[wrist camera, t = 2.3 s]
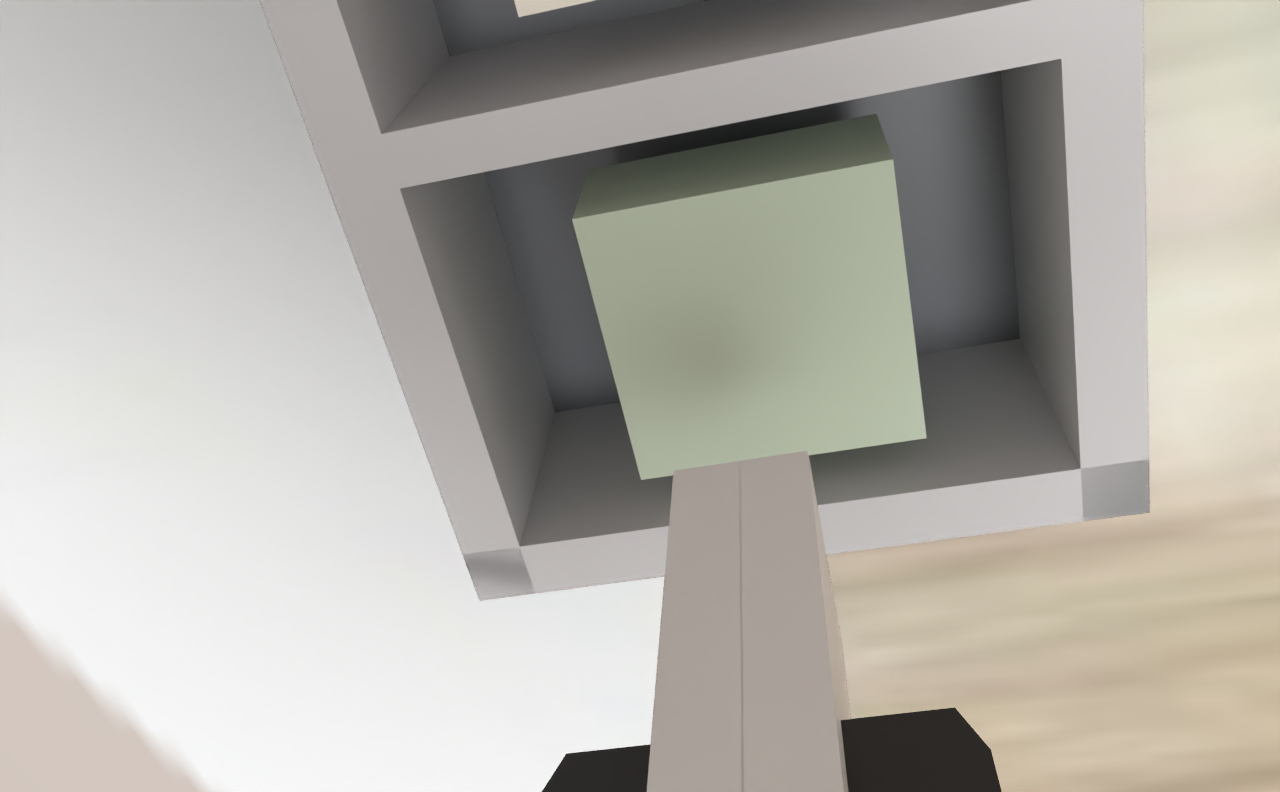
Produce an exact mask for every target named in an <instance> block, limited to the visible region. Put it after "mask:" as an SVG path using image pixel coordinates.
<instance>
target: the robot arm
mask: <svg viewBox="0 0 1280 792" xmlns="http://www.w3.org/2000/svg"><path fill="white" fill-rule="evenodd" d="M542 792H1001V788H1000V784H999V780H998V776H997V772H996V769H995V765H994V761H993V757H992V753H991V750H990V748H989V747H988V746H987V745H986V744H985V743H984V741H983V740H982V739H981V738H980V737H979V735H978V734H977V733H976V732H975V731H974V730H973V728H972V727H971V726H970V725H969V724H968V723H967V721H966V720H965V719H964V718H963V717H962V716H961V714H960V713H959V712H958V711H957V710H956V708H948V709H939V710H929V711H920V712H911V713H902V714H893V715H884V716H875V717H866V718H857V719H851V713H850V705H849V697H848V688H847V680H846V672H845V663H844V655H843V647H842V640H841V634H840V628H839V623H838V617H837V612H836V606H835V600H834V595H833V589H832V584H831V578H830V572H829V567H828V561H827V556H826V550H825V545H824V539H823V533H822V528H821V522H820V517H819V511H818V505H817V500H816V494H815V489H814V483H813V477H812V472H811V466H810V461H809V455H808V451H802V452H796V453H789V454H782V455H776V456H769V457H762V458H755V459H749V460H742V461H735V462H729V463H722V464H715V465H708V466H702V467H695V468H688V469H682V470H675V471H673V483H672V495H671V507H670V519H669V531H668V543H667V555H666V567H665V579H664V590H663V602H662V614H661V626H660V638H659V650H658V662H657V674H656V686H655V698H654V710H653V722H652V734H651V745H643V746H633V747H624V748H615V749H606V750H597V751H588V752H579V753H570V754H566V755H565V757H564V758H563V760H562V761H561V763H560V765H559V766H558V768H557V769H556V771H555V772H554V774H553V775H552V777H551V779H550V780H549V782H548V783H547V785H546V786H545V788H544V789H543V791H542Z"/></svg>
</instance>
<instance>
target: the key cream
mask: <svg viewBox="0 0 1280 792" xmlns="http://www.w3.org/2000/svg"><path fill="white" fill-rule="evenodd" d="M591 1H595V0H514V2H515V5H516V9H517V13H518V17H522V16H527V15H532V14H536V13H541V12H545V11H550V10H554V9H559V8H563V7H568V6H573V5H577V4H582V3H586V2H591Z"/></svg>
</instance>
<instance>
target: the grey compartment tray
mask: <svg viewBox="0 0 1280 792" xmlns="http://www.w3.org/2000/svg"><path fill="white" fill-rule="evenodd" d="M260 2H261V5H262V8H263V10H264V13H265V16H266V18H267V21H268V24H269V27H270V29H271V32H272V35H273V38H274V40H275V43H276V46H277V48H278V51H279V54H280V57H281V59H282V62H283V65H284V68H285V70H286V73H287V76H288V79H289V81H290V84H291V87H292V89H293V92H294V95H295V98H296V100H297V103H298V106H299V109H300V111H301V114H302V117H303V120H304V122H305V125H306V128H307V130H308V133H309V136H310V139H311V141H312V144H313V147H314V150H315V152H316V155H317V158H318V161H319V163H320V166H321V169H322V171H323V174H324V177H325V180H326V182H327V185H328V188H329V191H330V193H331V196H332V199H333V202H334V204H335V207H336V210H337V212H338V215H339V218H340V221H341V223H342V226H343V229H344V232H345V234H346V237H347V240H348V243H349V245H350V248H351V251H352V253H353V256H354V259H355V262H356V264H357V267H358V270H359V273H360V275H361V278H362V281H363V283H364V286H365V289H366V292H367V294H368V297H369V300H370V303H371V305H372V308H373V311H374V314H375V316H376V319H377V322H378V324H379V327H380V330H381V333H382V335H383V338H384V341H385V344H386V346H387V349H388V352H389V355H390V357H391V360H392V363H393V365H394V368H395V371H396V374H397V376H398V379H399V382H400V385H401V387H402V390H403V393H404V396H405V398H406V401H407V404H408V406H409V409H410V412H411V415H412V417H413V420H414V423H415V426H416V428H417V431H418V434H419V437H420V439H421V442H422V445H423V447H424V450H425V453H426V456H427V458H428V461H429V464H430V467H431V469H432V472H433V475H434V478H435V480H436V483H437V486H438V488H439V491H440V494H441V497H442V499H443V502H444V505H445V508H446V510H447V513H448V516H449V518H450V521H451V524H452V527H453V529H454V532H455V535H456V538H457V540H458V543H459V546H460V549H461V551H462V554H463V557H464V559H465V562H466V565H467V568H468V570H469V573H470V576H471V579H472V581H473V584H474V587H475V590H476V592H477V595H478V598H479V600H480V601H481V600H488V599H496V598H504V597H511V596H519V595H526V594H534V593H542V592H549V591H557V590H564V589H572V588H580V587H587V586H595V585H602V584H610V583H618V582H625V581H633V580H640V579H648V578H656V577H663V576H665V567H666V555H667V543H668V531H669V519H670V507H671V495H672V483H673V475H672V476H665V477H658V478H651V479H645V480H641V478H640V474H639V471H638V467H637V463H636V459H635V455H634V452H633V448H632V444H631V440H630V436H629V433H628V429H627V425H626V421H625V418H624V414H623V410H622V406H621V402H620V399H619V395H618V391H617V387H616V384H615V380H614V376H613V372H612V368H611V365H610V361H609V357H608V353H607V350H606V346H605V342H604V338H603V334H602V331H601V327H600V323H599V319H598V315H597V312H596V308H595V304H594V300H593V297H592V293H591V289H590V285H589V281H588V278H587V274H586V270H585V266H584V263H583V259H582V255H581V251H580V247H579V244H578V240H577V236H576V232H575V229H574V225H573V221H572V218H573V215H574V212H575V209H576V206H577V203H578V200H579V197H580V194H581V191H582V188H583V185H584V182H585V179H586V176H587V173H588V170H589V169H593V168H599V167H604V166H609V165H614V164H619V163H624V162H630V161H635V160H640V159H645V158H650V157H655V156H660V155H666V154H671V153H676V152H681V151H686V150H691V149H697V148H702V147H707V146H712V145H717V144H722V143H728V142H733V141H738V140H743V139H748V138H753V137H758V136H764V135H769V134H774V133H779V132H784V131H789V130H795V129H800V128H805V127H810V126H815V125H820V124H825V123H831V122H836V121H841V120H846V119H851V118H856V117H862V116H867V115H872V114H877V117H878V119H879V122H880V125H881V127H882V130H883V133H884V136H885V138H886V141H887V144H888V147H889V149H890V152H891V155H892V158H893V162H894V171H895V179H896V187H897V196H898V204H899V212H900V220H901V229H902V237H903V245H904V253H905V262H906V270H907V278H908V287H909V295H910V303H911V311H912V320H913V328H914V336H915V345H916V353H917V361H918V369H919V378H920V386H921V394H922V402H923V411H924V419H925V427H926V436H927V438H925V439H918V440H911V441H904V442H897V443H891V444H884V445H877V446H870V447H863V448H856V449H850V450H843V451H836V452H829V453H822V454H815V455H809V461H810V466H811V472H812V477H813V483H814V489H815V494H816V500H817V505H818V511H819V517H820V522H821V528H822V533H823V539H824V545H825V550H826V555H830V554H838V553H846V552H853V551H861V550H868V549H876V548H884V547H891V546H899V545H906V544H914V543H922V542H929V541H937V540H944V539H952V538H960V537H967V536H975V535H982V534H990V533H998V532H1005V531H1013V530H1020V529H1028V528H1036V527H1043V526H1051V525H1058V524H1066V523H1074V522H1081V521H1089V520H1096V519H1104V518H1112V517H1119V516H1127V515H1134V514H1142V513H1150V499H1149V425H1148V350H1147V276H1146V202H1145V127H1144V53H1143V0H595V1H591V2H586V3H582V4H577V5H573V6H568V7H563V8H559V9H554V10H550V11H545V12H541V13H536V14H532V15H527V16H522V17H518V13H517V9H516V5H515V2H514V0H260Z"/></svg>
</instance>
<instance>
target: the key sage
mask: <svg viewBox="0 0 1280 792" xmlns="http://www.w3.org/2000/svg"><path fill="white" fill-rule="evenodd" d="M572 221H573V225H574V229H575V232H576V236H577V240H578V244H579V247H580V251H581V255H582V259H583V263H584V266H585V270H586V274H587V278H588V281H589V285H590V289H591V293H592V297H593V300H594V304H595V308H596V312H597V315H598V319H599V323H600V327H601V331H602V334H603V338H604V342H605V346H606V350H607V353H608V357H609V361H610V365H611V368H612V372H613V376H614V380H615V384H616V387H617V391H618V395H619V399H620V402H621V406H622V410H623V414H624V418H625V421H626V425H627V429H628V433H629V436H630V440H631V444H632V448H633V452H634V455H635V459H636V463H637V467H638V471H639V474H640V478H641V480H645V479H651V478H658V477H665V476H672V475H673V471H675V470H682V469H688V468H695V467H702V466H708V465H715V464H722V463H729V462H735V461H742V460H749V459H755V458H762V457H769V456H776V455H782V454H789V453H796V452H802V451H808V455H815V454H822V453H829V452H836V451H843V450H850V449H856V448H863V447H870V446H877V445H884V444H891V443H897V442H904V441H911V440H918V439H925V438H927V436H926V427H925V419H924V411H923V402H922V394H921V386H920V378H919V369H918V361H917V353H916V345H915V336H914V328H913V320H912V311H911V303H910V295H909V287H908V278H907V270H906V262H905V253H904V245H903V237H902V229H901V220H900V212H899V204H898V196H897V187H896V179H895V171H894V162H893V158H892V155H891V152H890V149H889V147H888V144H887V141H886V138H885V136H884V133H883V130H882V127H881V125H880V122H879V119H878V117H877V114H872V115H867V116H862V117H856V118H851V119H846V120H841V121H836V122H831V123H825V124H820V125H815V126H810V127H805V128H800V129H795V130H789V131H784V132H779V133H774V134H769V135H764V136H758V137H753V138H748V139H743V140H738V141H733V142H728V143H722V144H717V145H712V146H707V147H702V148H697V149H691V150H686V151H681V152H676V153H671V154H666V155H660V156H655V157H650V158H645V159H640V160H635V161H630V162H624V163H619V164H614V165H609V166H604V167H599V168H593V169H589V170H588V173H587V176H586V179H585V182H584V185H583V188H582V191H581V194H580V197H579V200H578V203H577V206H576V209H575V212H574V215H573V218H572Z"/></svg>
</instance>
